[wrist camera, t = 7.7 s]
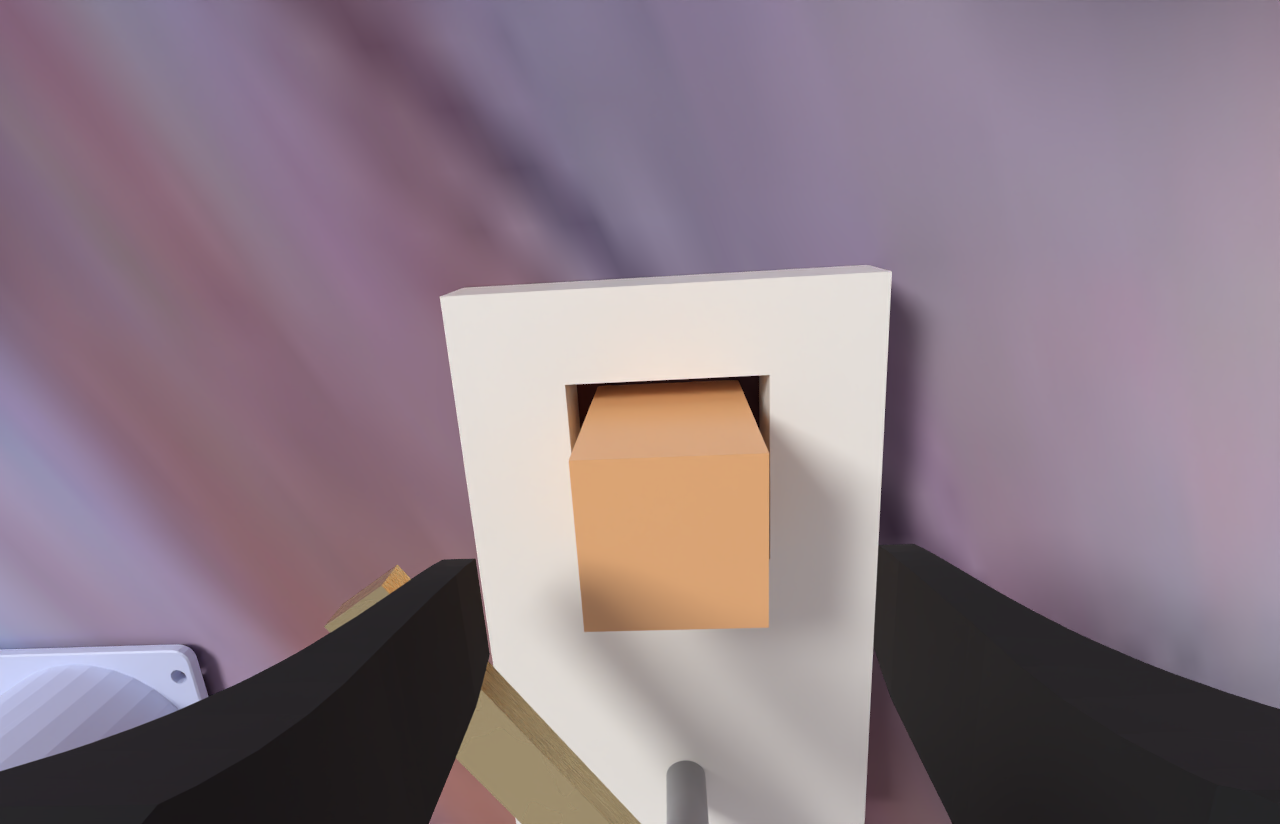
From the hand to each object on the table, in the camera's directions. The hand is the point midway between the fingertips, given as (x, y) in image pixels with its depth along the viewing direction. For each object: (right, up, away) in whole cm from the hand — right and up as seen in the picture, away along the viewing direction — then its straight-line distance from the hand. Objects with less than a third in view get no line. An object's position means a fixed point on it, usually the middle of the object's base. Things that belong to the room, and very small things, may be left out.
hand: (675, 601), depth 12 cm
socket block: (0, -1, +9) cm, 9 cm away
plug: (0, +2, +8) cm, 8 cm away
